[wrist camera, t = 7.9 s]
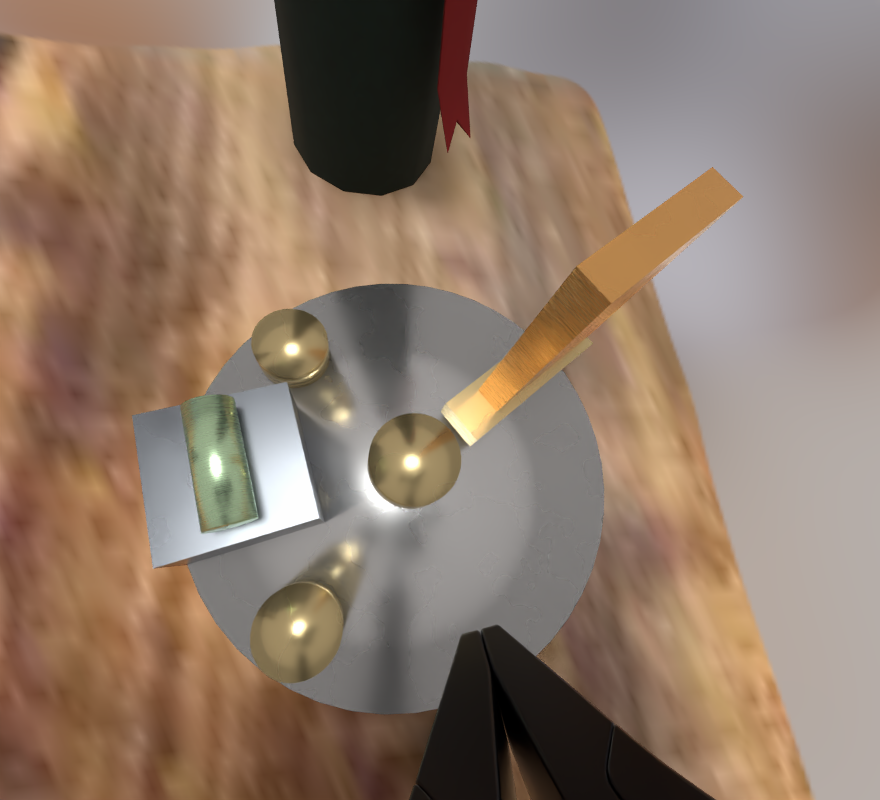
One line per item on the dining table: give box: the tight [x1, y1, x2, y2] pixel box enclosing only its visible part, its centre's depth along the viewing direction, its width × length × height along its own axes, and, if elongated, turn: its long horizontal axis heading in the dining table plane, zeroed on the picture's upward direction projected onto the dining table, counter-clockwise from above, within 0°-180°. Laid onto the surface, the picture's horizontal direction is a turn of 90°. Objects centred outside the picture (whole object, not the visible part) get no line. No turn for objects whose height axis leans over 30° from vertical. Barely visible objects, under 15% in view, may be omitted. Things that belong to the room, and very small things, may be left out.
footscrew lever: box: [367, 167, 743, 509], centre depth 15 cm, size 12×4×10 cm, turn 131°
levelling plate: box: [132, 284, 604, 714], centre depth 17 cm, size 18×18×6 cm
